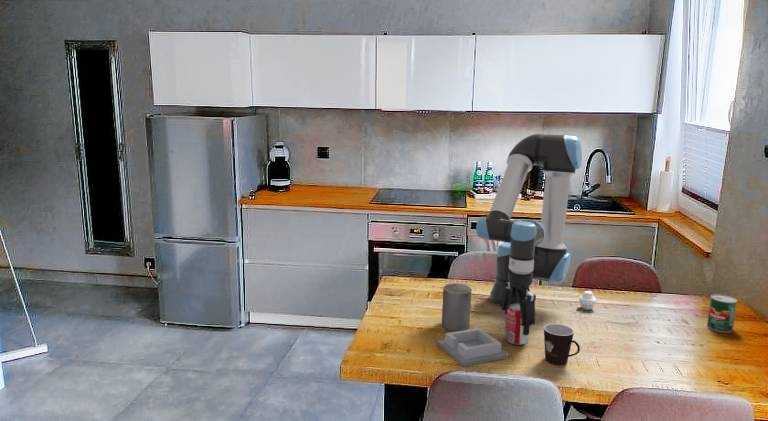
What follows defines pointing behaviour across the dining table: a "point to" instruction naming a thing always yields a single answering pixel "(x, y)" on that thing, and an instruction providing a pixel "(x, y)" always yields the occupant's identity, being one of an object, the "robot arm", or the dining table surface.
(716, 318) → the canned tomato
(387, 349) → the dining table surface
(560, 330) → the coffee mug
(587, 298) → the white lidded jar
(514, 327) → the soda can
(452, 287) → the pillar candle
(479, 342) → the pocket board
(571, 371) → the dining table surface
